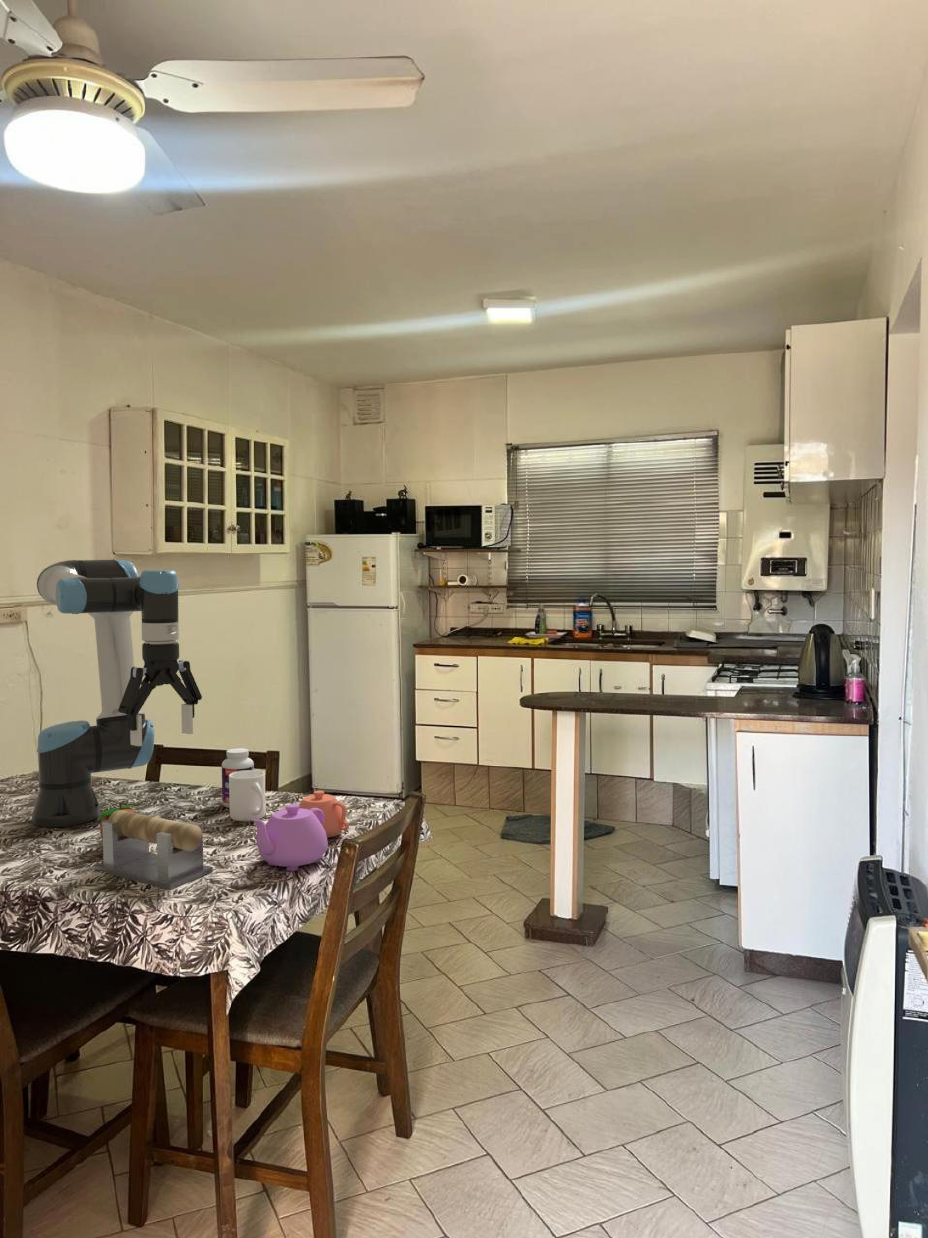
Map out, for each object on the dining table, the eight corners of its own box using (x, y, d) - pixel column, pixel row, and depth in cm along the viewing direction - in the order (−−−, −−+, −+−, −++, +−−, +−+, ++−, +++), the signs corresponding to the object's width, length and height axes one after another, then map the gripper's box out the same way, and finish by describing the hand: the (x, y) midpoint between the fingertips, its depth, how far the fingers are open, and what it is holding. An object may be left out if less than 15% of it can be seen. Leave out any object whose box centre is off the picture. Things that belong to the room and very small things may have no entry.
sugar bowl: (313, 824, 208) (312, 782, 207) (363, 832, 202) (362, 789, 201) (281, 839, 197) (280, 795, 196) (332, 847, 191) (331, 802, 190)
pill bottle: (221, 810, 220) (220, 754, 219) (222, 802, 227) (221, 748, 226) (254, 808, 221) (253, 752, 221) (254, 800, 229) (253, 746, 228)
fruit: (150, 846, 192) (149, 802, 192) (108, 857, 185) (106, 811, 185) (133, 838, 198) (132, 794, 198) (91, 847, 192) (90, 803, 191)
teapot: (276, 885, 168) (275, 824, 168) (229, 870, 177) (228, 811, 176) (348, 857, 184) (347, 801, 184) (302, 844, 193) (301, 790, 192)
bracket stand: (94, 870, 177) (93, 822, 177) (138, 854, 187) (137, 808, 186) (169, 889, 166) (168, 838, 166) (212, 872, 176) (211, 823, 175)
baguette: (105, 833, 179) (110, 809, 180) (124, 834, 183) (129, 810, 184) (180, 850, 168) (185, 824, 169) (199, 851, 172) (204, 826, 173)
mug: (245, 827, 206) (244, 783, 205) (223, 816, 215) (222, 773, 214) (278, 820, 211) (277, 777, 210) (255, 810, 220) (254, 768, 220)
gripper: (122, 648, 173) (125, 753, 175) (217, 637, 195) (218, 730, 197) (98, 646, 177) (101, 748, 179) (193, 635, 199) (195, 726, 200)
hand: (162, 739), depth 188 cm, fingers open, 13 cm apart
